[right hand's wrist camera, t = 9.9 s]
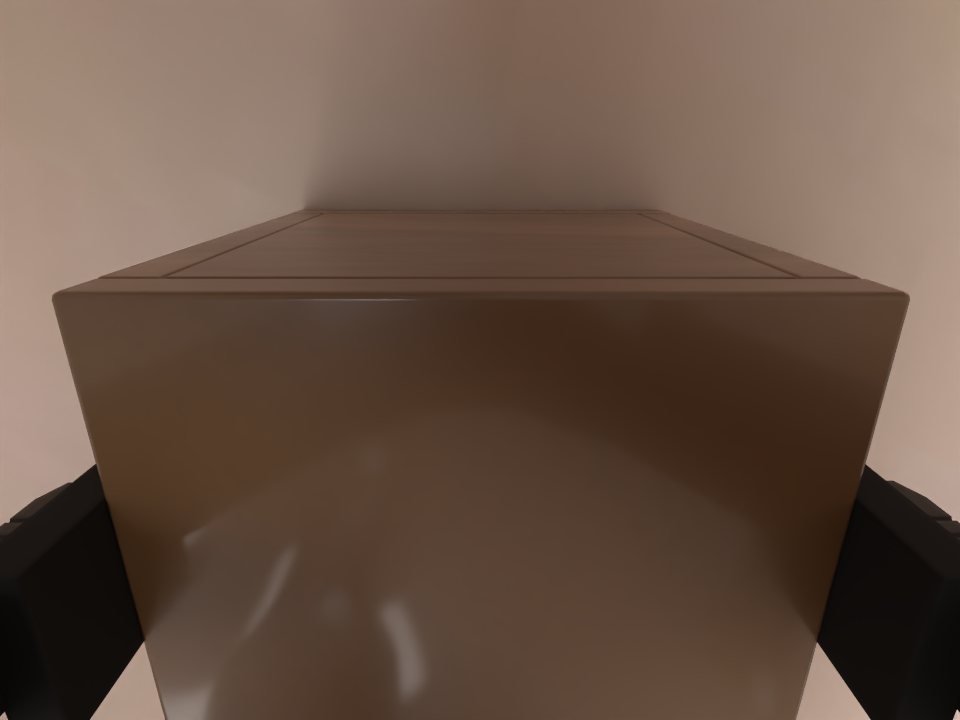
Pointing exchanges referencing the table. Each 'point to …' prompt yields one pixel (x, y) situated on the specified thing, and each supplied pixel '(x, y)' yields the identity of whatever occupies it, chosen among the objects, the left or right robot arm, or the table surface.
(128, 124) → the table surface
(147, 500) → the cabinet
